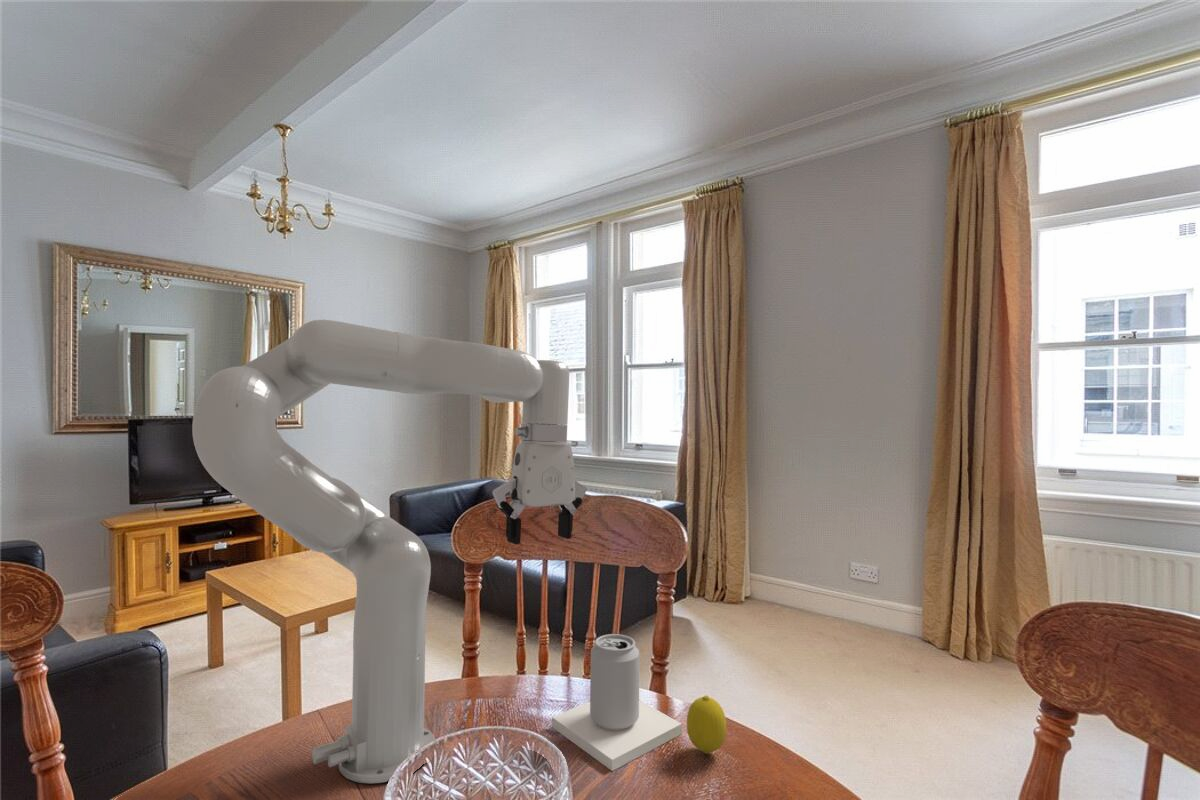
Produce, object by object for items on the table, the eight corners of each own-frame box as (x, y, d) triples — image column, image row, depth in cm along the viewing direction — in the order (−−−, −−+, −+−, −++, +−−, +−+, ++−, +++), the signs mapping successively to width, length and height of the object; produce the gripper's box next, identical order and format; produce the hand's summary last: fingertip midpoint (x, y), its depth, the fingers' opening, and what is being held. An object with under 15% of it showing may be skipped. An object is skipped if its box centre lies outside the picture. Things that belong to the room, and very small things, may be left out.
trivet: (612, 771, 75) (612, 759, 75) (551, 726, 86) (552, 716, 86) (681, 733, 84) (681, 723, 84) (619, 698, 95) (619, 689, 95)
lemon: (726, 767, 76) (726, 708, 77) (685, 762, 77) (685, 703, 78) (725, 744, 82) (725, 689, 82) (687, 740, 83) (687, 685, 83)
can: (637, 736, 81) (637, 652, 81) (585, 731, 82) (586, 648, 82) (640, 709, 88) (641, 632, 89) (593, 705, 89) (594, 629, 90)
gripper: (508, 434, 84) (502, 549, 84) (599, 437, 95) (595, 539, 94) (486, 433, 90) (481, 540, 90) (574, 436, 101) (570, 532, 100)
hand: (539, 540), depth 92 cm, fingers open, 9 cm apart
